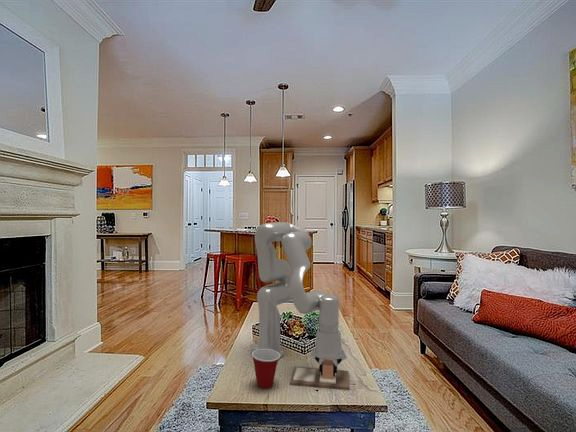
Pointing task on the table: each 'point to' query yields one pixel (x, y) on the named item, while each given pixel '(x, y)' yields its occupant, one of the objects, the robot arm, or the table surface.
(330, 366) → the stub
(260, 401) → the table surface
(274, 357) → the plastic cup
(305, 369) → the board
